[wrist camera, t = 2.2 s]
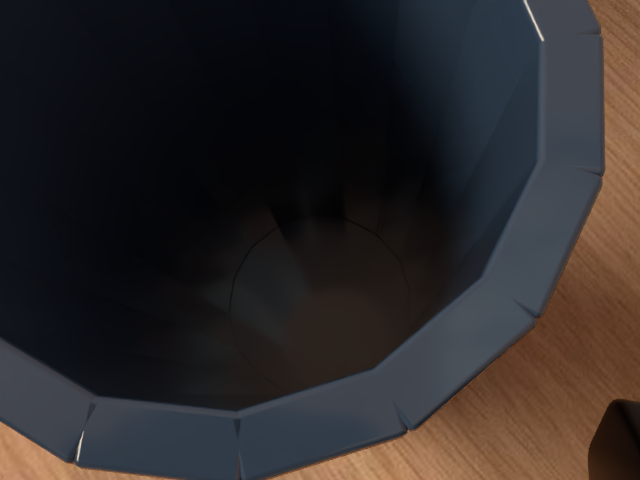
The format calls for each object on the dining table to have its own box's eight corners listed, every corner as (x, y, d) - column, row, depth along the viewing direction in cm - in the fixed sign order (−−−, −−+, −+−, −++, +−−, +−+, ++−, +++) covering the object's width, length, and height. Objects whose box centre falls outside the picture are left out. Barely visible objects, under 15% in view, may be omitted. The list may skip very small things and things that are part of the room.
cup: (456, 377, 17) (753, 329, 4) (247, 442, 17) (-108, 596, 4) (387, 182, 18) (447, -295, 6) (196, 240, 18) (-178, -107, 6)
